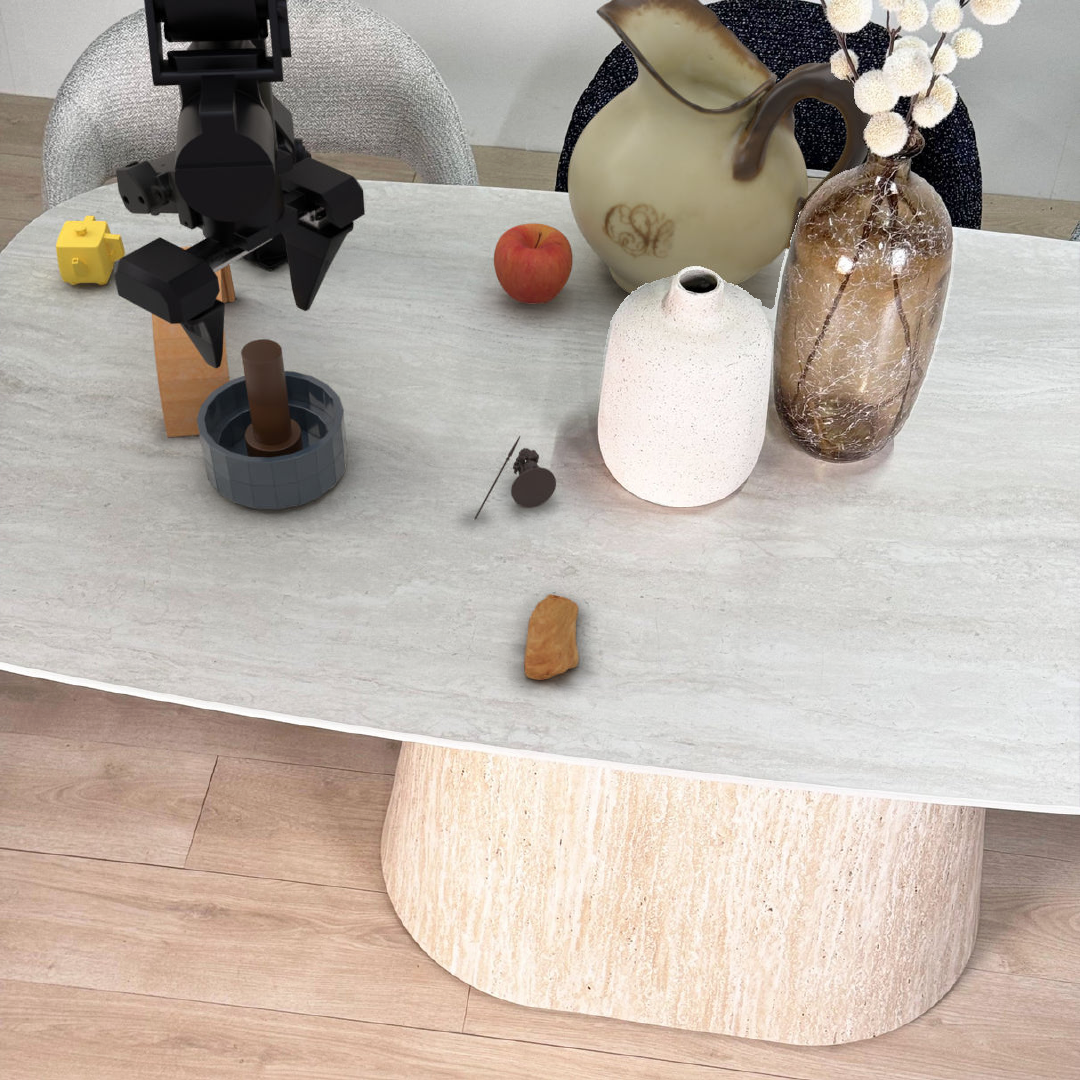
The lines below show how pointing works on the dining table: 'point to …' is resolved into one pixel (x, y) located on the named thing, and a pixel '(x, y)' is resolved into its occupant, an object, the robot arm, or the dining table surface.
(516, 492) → the dark disc and stick
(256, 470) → the bowl
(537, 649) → the brown rounded lump
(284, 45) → the robot arm
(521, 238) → the apple
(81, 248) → the teapot
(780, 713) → the dining table surface
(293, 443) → the muddler
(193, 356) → the arch
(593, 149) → the pitcher
